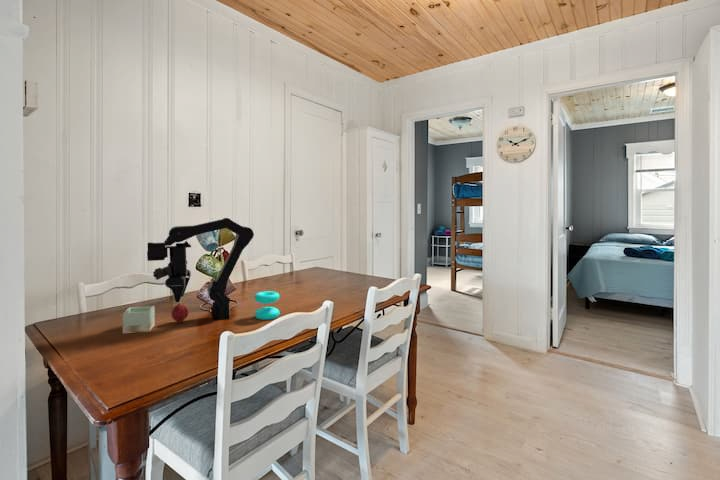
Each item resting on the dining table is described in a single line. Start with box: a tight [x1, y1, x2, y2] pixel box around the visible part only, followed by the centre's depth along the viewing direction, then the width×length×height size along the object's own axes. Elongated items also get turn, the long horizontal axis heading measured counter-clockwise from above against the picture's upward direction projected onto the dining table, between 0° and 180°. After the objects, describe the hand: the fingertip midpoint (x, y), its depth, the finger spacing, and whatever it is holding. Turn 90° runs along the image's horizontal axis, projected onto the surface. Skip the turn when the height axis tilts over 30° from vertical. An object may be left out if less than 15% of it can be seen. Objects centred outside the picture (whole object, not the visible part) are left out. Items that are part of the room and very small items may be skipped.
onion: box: [171, 301, 189, 324], centre depth 145 cm, size 6×6×8 cm
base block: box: [122, 317, 156, 334], centre depth 138 cm, size 8×8×3 cm
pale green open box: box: [122, 305, 156, 327], centre depth 137 cm, size 8×8×4 cm
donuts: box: [254, 290, 280, 321], centre depth 154 cm, size 10×10×10 cm
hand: (179, 299), depth 145 cm, fingers open, 9 cm apart
